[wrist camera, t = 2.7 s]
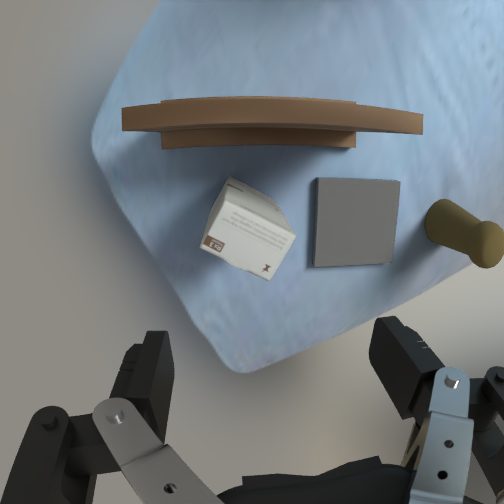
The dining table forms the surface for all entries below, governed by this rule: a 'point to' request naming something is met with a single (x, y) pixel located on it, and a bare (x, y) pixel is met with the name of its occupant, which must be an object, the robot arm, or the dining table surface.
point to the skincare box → (247, 230)
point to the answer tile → (355, 221)
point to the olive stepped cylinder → (465, 233)
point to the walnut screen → (265, 121)
